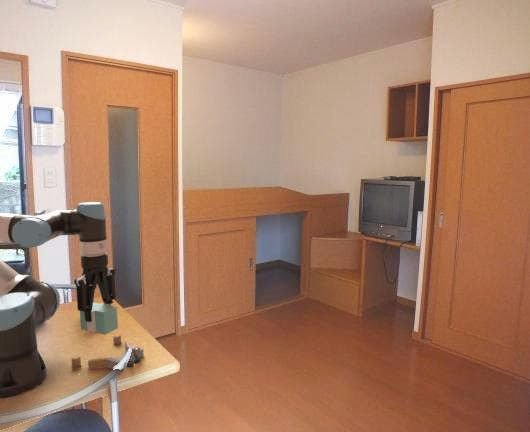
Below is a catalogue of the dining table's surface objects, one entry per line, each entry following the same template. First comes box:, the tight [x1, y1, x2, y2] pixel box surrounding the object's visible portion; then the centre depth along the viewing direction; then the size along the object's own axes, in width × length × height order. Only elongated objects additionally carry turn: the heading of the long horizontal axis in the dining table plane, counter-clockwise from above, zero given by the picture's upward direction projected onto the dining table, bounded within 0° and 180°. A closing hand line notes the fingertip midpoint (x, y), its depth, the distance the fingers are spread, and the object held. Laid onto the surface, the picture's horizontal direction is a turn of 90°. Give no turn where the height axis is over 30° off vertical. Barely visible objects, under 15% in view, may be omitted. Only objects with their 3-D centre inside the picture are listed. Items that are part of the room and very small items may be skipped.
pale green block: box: [79, 301, 119, 336], centre depth 121 cm, size 5×10×7 cm, turn 65°
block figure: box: [71, 334, 145, 370], centre depth 120 cm, size 18×15×2 cm
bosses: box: [125, 346, 142, 369], centre depth 117 cm, size 5×2×4 cm, turn 155°
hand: (99, 327), depth 121 cm, fingers closed on pale green block, 5 cm apart
